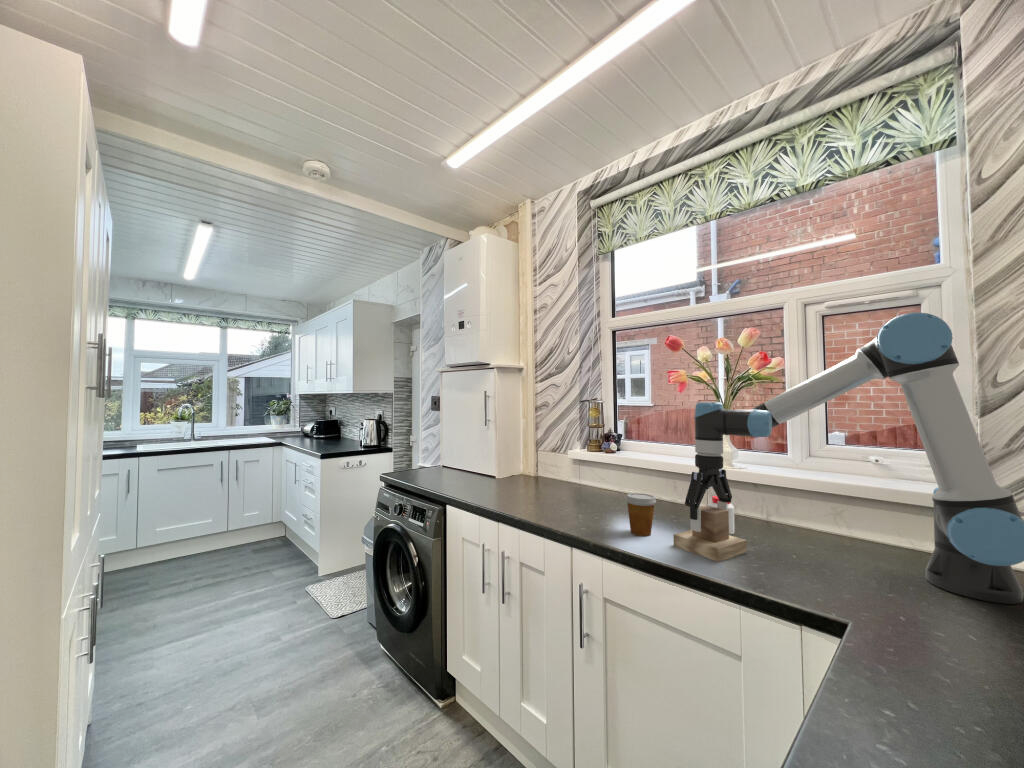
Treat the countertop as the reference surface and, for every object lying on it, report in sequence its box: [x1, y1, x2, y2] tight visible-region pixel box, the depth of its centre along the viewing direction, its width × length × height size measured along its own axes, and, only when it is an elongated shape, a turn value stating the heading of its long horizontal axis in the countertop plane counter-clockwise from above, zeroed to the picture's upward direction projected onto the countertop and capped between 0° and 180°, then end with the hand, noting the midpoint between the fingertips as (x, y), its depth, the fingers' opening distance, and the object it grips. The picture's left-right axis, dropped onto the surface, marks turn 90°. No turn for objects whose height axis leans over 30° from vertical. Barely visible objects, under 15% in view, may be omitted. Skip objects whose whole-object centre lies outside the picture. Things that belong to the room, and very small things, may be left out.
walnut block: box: [692, 505, 730, 543], centre depth 119 cm, size 7×7×8 cm
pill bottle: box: [707, 495, 735, 535], centre depth 137 cm, size 8×8×11 cm
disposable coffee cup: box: [625, 492, 657, 537], centre depth 133 cm, size 10×10×12 cm
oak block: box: [673, 530, 748, 563], centre depth 119 cm, size 14×14×4 cm
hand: (709, 527), depth 119 cm, fingers open, 13 cm apart
